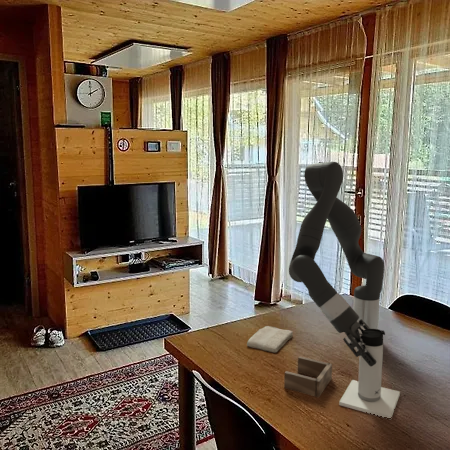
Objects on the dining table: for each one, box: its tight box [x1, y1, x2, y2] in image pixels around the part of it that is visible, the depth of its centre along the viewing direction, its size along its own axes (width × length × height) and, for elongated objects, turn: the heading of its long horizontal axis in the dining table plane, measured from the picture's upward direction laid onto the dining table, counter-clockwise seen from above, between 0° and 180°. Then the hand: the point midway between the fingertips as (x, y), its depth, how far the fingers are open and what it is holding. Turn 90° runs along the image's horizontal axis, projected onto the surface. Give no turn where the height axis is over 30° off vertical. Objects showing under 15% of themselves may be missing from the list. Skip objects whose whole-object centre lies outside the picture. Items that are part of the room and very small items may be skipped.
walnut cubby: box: [283, 355, 333, 398], centre depth 140 cm, size 12×11×5 cm
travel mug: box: [357, 328, 386, 402], centre depth 129 cm, size 6×7×20 cm
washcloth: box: [246, 325, 294, 354], centre depth 171 cm, size 12×18×3 cm, turn 152°
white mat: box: [338, 379, 401, 419], centre depth 131 cm, size 14×14×1 cm
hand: (377, 358), depth 128 cm, fingers open, 8 cm apart
